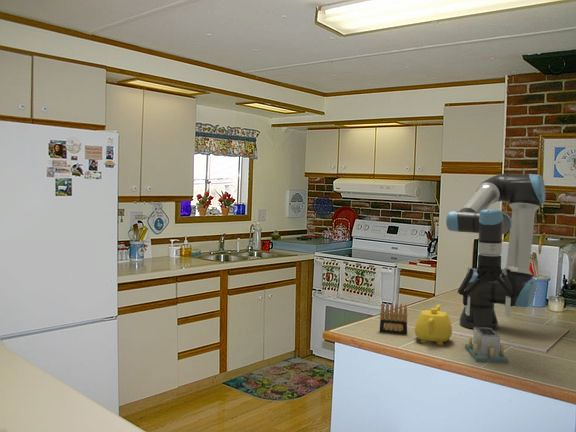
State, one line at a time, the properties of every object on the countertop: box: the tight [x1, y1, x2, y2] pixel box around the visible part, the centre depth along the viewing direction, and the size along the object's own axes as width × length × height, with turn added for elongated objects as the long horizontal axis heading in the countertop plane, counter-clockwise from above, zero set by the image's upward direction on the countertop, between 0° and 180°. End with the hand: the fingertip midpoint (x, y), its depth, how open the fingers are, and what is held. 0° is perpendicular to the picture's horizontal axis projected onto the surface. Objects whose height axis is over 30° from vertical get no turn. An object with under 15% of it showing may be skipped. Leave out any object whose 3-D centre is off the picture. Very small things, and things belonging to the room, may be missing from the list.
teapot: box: [414, 303, 453, 346], centre depth 203 cm, size 13×20×12 cm
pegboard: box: [464, 337, 509, 364], centre depth 187 cm, size 15×10×5 cm
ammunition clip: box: [379, 301, 408, 336], centre depth 212 cm, size 11×2×12 cm, turn 74°
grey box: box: [472, 327, 501, 357], centre depth 187 cm, size 11×6×7 cm, turn 174°
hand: (487, 315), depth 187 cm, fingers open, 13 cm apart
